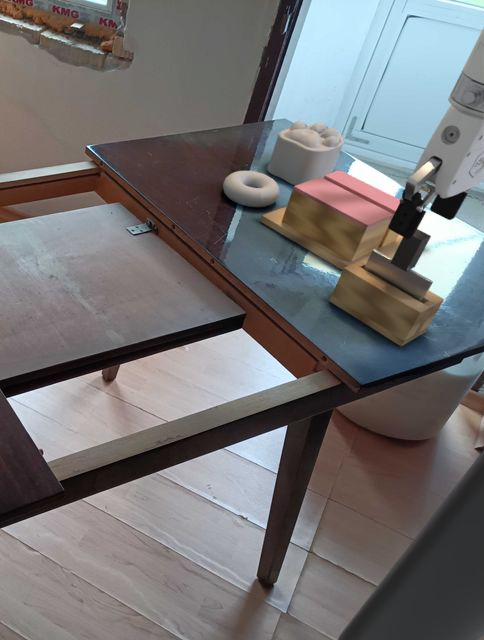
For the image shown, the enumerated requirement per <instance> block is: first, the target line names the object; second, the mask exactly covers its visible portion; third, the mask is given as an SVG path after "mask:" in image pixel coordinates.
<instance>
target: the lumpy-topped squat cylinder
mask: <svg viewBox="0 0 484 640" xmlns="http://www.w3.org/2000/svg"><path fill="white" fill-rule="evenodd" d="M344 143H345V139H344V136H343V135H342V133H340V132H339V131H338V129H336V128H335V127H329V126H326V124H324V123H322V122H317V123H314V124H308V123H305V122H303V121H301V120H297V121H295V122H293V123H292V125H290V127H287V128H285V129H283V130H281V131H279V132H278V135H277V138H276V140H275V144H274V146H273V150H272V152H271V157H270V159H269V162H268V165H267V169H266V170H267V172H268V173H270V174H271V175H273V176H275V177H278V178H281V179H282V180H284V181H286V182H288V183H289V184H290V185H292V186H293V185H294V186H296V185H299V184H302V183H304V182H307V181H310V180H313V179H316V178H319V177H321V178H323V179H324V176H325V175H327V174H330V173H333V172H334V169H335V167H336V164H337V161H338V159H339V157H340V154H341V151H342V149H343V147H344Z"/></svg>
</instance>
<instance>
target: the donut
mask: <svg viewBox="0 0 484 640" xmlns="http://www.w3.org/2000/svg"><path fill="white" fill-rule="evenodd" d="M222 188H223V192H224V194H225V195H226V196H227V198H228V199H230V200H231V201H233V202H234V203H236V204H239V205H241V206H245V207H249V208H266V207H268V206H271V205H272V204H274V203H275V202H276V201H277V200H278V198H279V195H280V191H281V190H280V187H279V185H278V183H277V182H276V181H275V180H274V179H273V178H272V177H270V176H268V175H267V174H264V173H261V172H259V171H255V170H238V171H237V170H236V171H234V172H232V173H230V174H229V175H227V176H226V177H225V179H224V181H223V184H222Z"/></svg>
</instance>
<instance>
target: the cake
mask: <svg viewBox="0 0 484 640" xmlns="http://www.w3.org/2000/svg"><path fill="white" fill-rule="evenodd" d="M393 215H394V214H392V213H390V212H388V211H386V210H384V209H382V208H380V207H378V206H376V205H374V204H372V203H370V202H368V201H367V200H365V199H363V198H361V197H359V196H357V195H355V194H353V193H351V192H349V191H347V190H345V189H343V188H341V187H339V186H337V185H335V184H333V183H331V182H329V181H327V180H325V179H323V178H321V177H319V178H316V179H313V180H310V181H307V182H304V183H302V184H299V185H294V186H293V188H292V191H291V193H290V196H289V199H288V202H287V205H286V206H284V207H280V208H278V209H275V210H273V211H270V212H267V213H265V214H262V215H261V217H260V221H259V222H260V223H262V224H263V225H265V226H267V227H268V228H270V229H272V230H273V231H275V232H277V233H279V234H280V235H282V236H284V237H286V238H287V239H288V240H291V241H293V242H295V243H296V244H297V245H298V246H300V247H303V248H304V249H305V250H307V251H310V252H311V253H313V254H315V255H316V256H318V257H319V258H321V259H323V260H325V261H326V262H328V263H330V264H331V265H333V266H334V267H336V268H338V269H340V270H341V271H343V269H344V268H345V267H347V266H349V265H351V264H353V263H356V262H358V261H360V260H362V259H364V258H366V257H370V255H371V253H372V251H373V250H374V249H375V250H377V251H379V252H381V253H383V254H384V255H386V256H388V257H390V258H393V256H394V254H395V252H396V250H397V248H398V246H399V244H400V242H401V240H402V238H403V236H401V235H398V237H397V239H396V241H395V242H392V243H390V244H388V245H386V246H384V247H382V248H381V247H379V244H380V242H381V240H382V238H383V236H384V234H385V232H386V230H387V227H388V225H389V223H390V221H391V219H392V217H393Z"/></svg>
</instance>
